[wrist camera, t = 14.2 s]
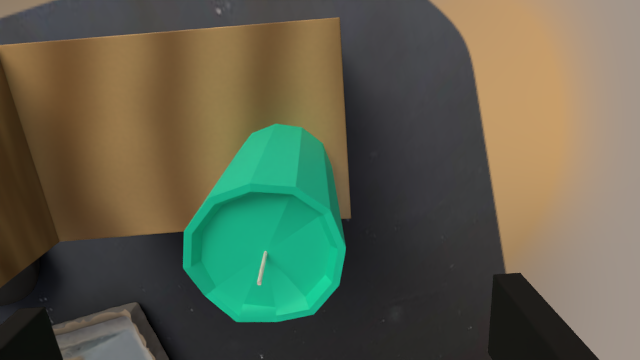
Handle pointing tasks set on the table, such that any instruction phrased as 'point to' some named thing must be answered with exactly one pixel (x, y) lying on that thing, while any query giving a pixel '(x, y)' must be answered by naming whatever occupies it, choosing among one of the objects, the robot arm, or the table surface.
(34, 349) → the robot arm
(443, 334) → the table surface
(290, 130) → the candle
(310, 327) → the table surface
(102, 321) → the grey rectangular tray
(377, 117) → the table surface
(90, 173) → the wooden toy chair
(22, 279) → the computer mouse
